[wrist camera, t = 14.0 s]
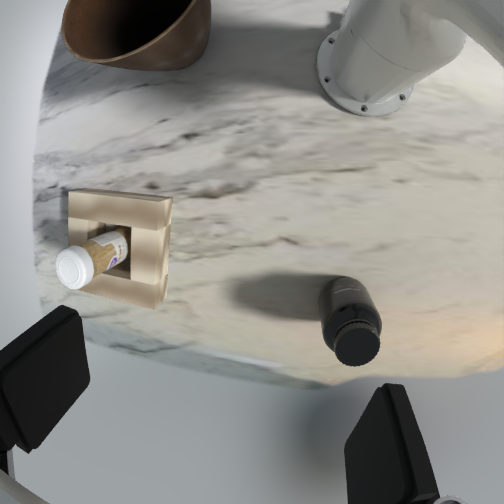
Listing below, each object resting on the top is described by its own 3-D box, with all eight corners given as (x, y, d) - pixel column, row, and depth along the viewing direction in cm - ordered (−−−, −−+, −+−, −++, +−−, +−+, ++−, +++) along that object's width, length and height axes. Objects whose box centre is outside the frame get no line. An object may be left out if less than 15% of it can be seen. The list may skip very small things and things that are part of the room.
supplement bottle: (347, 265, 39) (368, 304, 27) (376, 300, 40) (402, 347, 28) (306, 298, 41) (311, 347, 29) (337, 331, 42) (350, 385, 30)
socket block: (87, 188, 40) (68, 191, 36) (172, 197, 39) (159, 201, 35) (87, 277, 44) (71, 287, 40) (166, 296, 43) (154, 309, 39)
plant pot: (150, 0, 32) (95, -52, 16) (249, 6, 31) (226, -65, 16) (118, 89, 36) (42, 64, 21) (218, 103, 35) (171, 66, 20)
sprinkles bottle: (136, 260, 42) (83, 297, 29) (110, 250, 42) (52, 281, 30) (142, 230, 41) (86, 258, 28) (115, 220, 41) (55, 243, 28)
